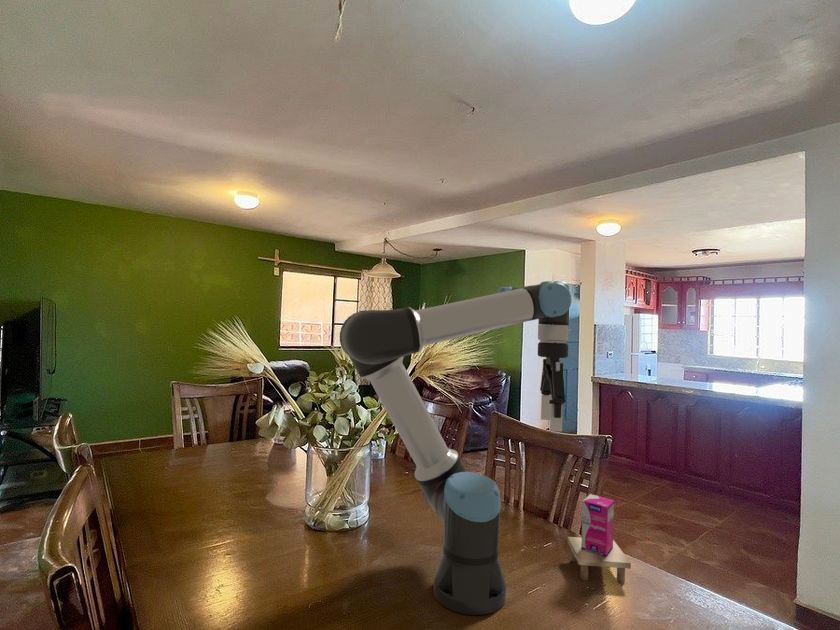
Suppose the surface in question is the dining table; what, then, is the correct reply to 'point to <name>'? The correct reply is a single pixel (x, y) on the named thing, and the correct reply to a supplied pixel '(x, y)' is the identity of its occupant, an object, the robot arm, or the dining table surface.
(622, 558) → the footstool
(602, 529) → the supplement box
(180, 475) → the dining table surface
